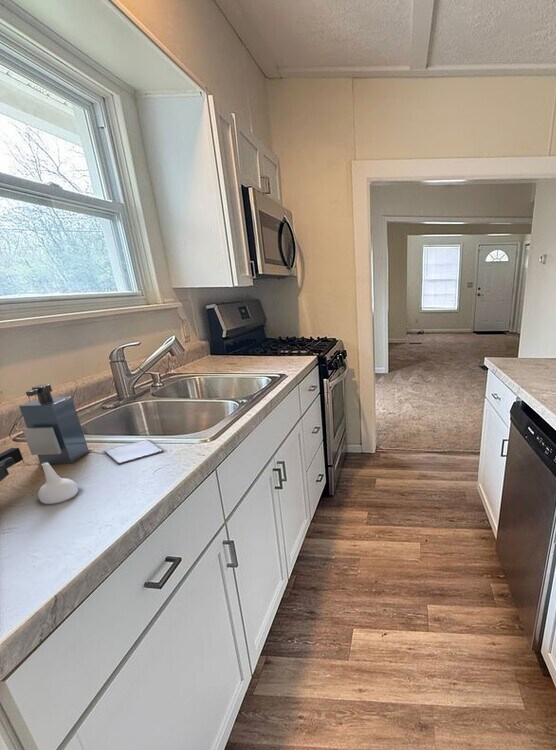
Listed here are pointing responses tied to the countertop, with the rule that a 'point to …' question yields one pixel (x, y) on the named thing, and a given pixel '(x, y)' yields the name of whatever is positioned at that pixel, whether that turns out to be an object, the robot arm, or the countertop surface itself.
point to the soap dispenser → (56, 423)
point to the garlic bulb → (56, 487)
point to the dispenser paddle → (41, 440)
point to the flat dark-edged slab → (133, 451)
